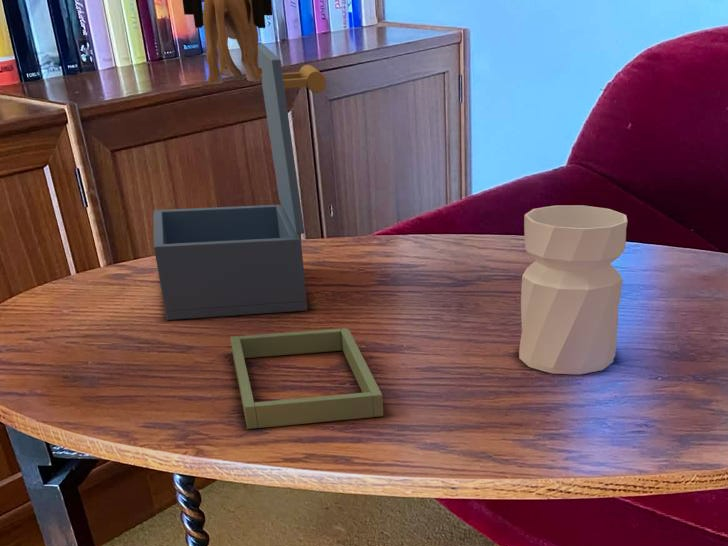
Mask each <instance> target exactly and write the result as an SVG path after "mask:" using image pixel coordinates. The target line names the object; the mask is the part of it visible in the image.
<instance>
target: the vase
mask: <svg viewBox="0 0 728 546" xmlns="http://www.w3.org/2000/svg"><path fill="white" fill-rule="evenodd" d="M523 219H524V220H523V228H524V229H523V235H524V237H523V238H524V248H525V252H526V253H527V254H528V255H529V256H530V257H531V258H532V260H534V261H533V262H532V263H531V264H530V265H529V266H527V267H526V269H525V270H524V271H523V274H522V277H521V287H520V289H521V290H520V291H521V292H520V314H521V315H520V317H521V335H520V340H519V341H520V342H519V349H518V359H519V360H520V361H521V362H523V364H525V365H526V366H527V367H529V368H530V369H531V368H532V369H533V370H534V369H535V370H538V371H542V372H546V373H549V374H555V375H558V374H559V375H579V376H580V375H584V374H590V373H595V372H599V371H604V370H605V369H606V368H607V367H609V366H610V365H611V364H612V363H614V358H616V350H617V349H616V348H617V343H618V342H617V340H618V328H619V327H618V326H619V325H618V324H619V307H620V300H621V295H622V289H623V281H624V278H623V277H622V275H621V274H620V272H619V271H618V270H617V269H616V268H615V267H614V266H613V265H612V263H613V262H614V261H616V259H618V258H620V257H621V256H622V254H623V253H624V252H625V250H626V246H627V245H626V244H627V243H626V241H627V227H628V218H627V214H624V213H622V212H619V211H616V210H614V209H611V208H606V207H598V206H589V205H550V206H543V207H538V208H532V209H531V210H529V211H528V212H526V213H524V216H523Z"/></svg>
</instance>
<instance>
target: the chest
mask: <svg viewBox="0 0 728 546" xmlns="http://www.w3.org/2000/svg"><path fill="white" fill-rule="evenodd" d="M302 246H303V245H302V238H301V237H300V234H296V232H295V230H294V228H293V226H292V224H291V222H290V220H289V218H288V216H287V214H286V212H285V210H284V208H283V206H282V204H266V205H263V204H262V205H261V204H260V205H241V206H219V207H217V206H216V207H198V208H197V207H196V208H194V207H193V208H175V209H173V208H172V209H154V210H153V250H154V256H155V262H156V267H157V273H158V278H159V284H160V289H161V296H162V301H163V306H164V313H165V318H166V320H167V321H175V320H189V319H203V318H215V317H216V318H219V317H233V316H246V315H247V316H248V315H261V314H262V315H263V314H276V313H291V312H303V311H304V312H305V311H308V302H307V300H308V299H307V291H306V289H307V288H306V279H305V270H304V269H305V268H304V259H303V258H304V257H303V247H302Z"/></svg>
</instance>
